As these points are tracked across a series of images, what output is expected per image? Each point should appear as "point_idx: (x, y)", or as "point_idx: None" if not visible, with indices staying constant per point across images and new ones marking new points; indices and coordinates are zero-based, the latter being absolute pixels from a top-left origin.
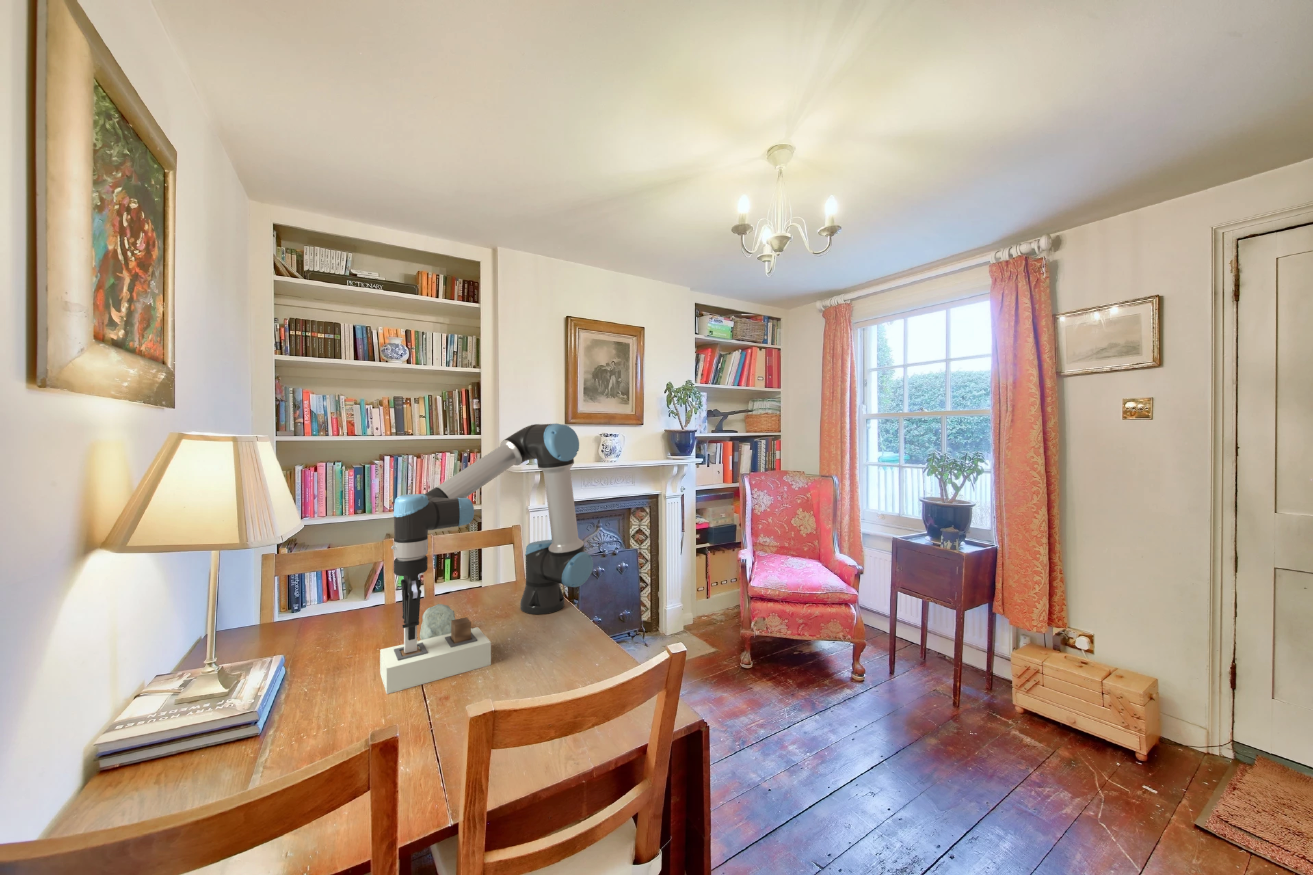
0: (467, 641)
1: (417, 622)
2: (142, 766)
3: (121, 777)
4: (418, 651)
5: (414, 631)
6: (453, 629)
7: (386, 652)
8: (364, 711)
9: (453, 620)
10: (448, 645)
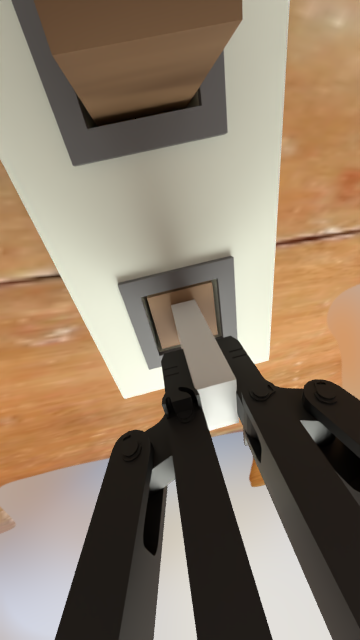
0: None
1: (350, 402)
2: (251, 476)
3: (259, 478)
4: (198, 292)
5: (252, 364)
6: (159, 69)
7: (153, 380)
8: (280, 344)
9: (58, 15)
10: (188, 148)
